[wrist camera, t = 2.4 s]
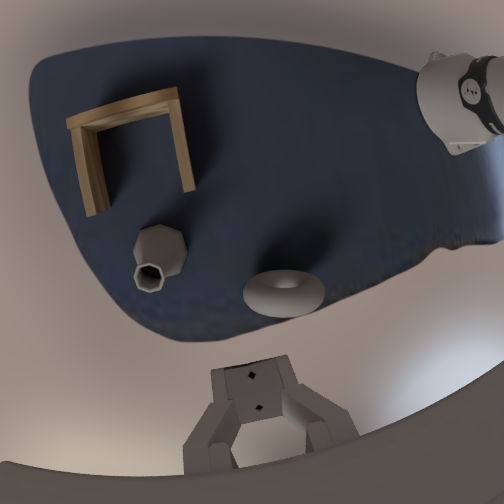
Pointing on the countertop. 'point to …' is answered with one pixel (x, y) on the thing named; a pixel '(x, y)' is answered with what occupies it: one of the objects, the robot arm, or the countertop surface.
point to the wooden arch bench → (115, 115)
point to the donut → (284, 293)
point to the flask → (158, 256)
